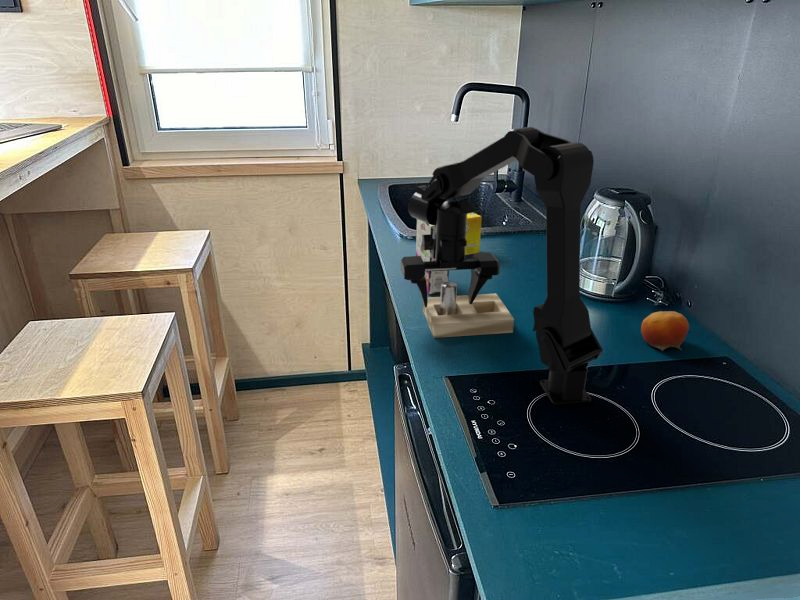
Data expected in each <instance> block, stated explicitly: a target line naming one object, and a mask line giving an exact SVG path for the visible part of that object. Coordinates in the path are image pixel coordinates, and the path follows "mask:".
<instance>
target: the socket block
mask: <svg viewBox="0 0 800 600" xmlns="http://www.w3.org/2000/svg"><path fill="white" fill-rule="evenodd" d="M427 299H428V303H427V307H425V306H424V303H423V302H422V312H423V314H424V316H425V319H426V323H427V325H428V327H429V329H430V331H431V335H432V337H433V339H436V338H437V339H438V338H450V337H452V338H453V337H454V338H455V337H463V336H465V337H468V336H479V335H480V336H481V335H497V334H509V333H510V334H511V333H514V324H515V319H514V317H513V315H512V314H511V313H510V311H509V310H508V308H507V307H506V305H505V304H504V302H503V301H502V300H501V298H500V297H499V295H498V294H497V293H484V294H483V293H482V294H480V293H478V294H477V296H476V298H475V300H474V301H473V303H472V304H469V294H466V295H463V294H462V295H456V313H455V315H440V296H432V297H431V296H430V297H429V296H427Z"/></svg>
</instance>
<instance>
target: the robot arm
mask: <svg viewBox="0 0 800 600" xmlns="http://www.w3.org/2000/svg"><path fill="white" fill-rule="evenodd" d="M516 161H517V162H518V164H519V167H521V169H523V170H525V171H526V172H528V173H529V174H531V175H532V176H533V177H534V178H533V179H534V185H535V190H536V193H537V194H538V195H539V197H540V199H541V201H542V202H543V205H544V206H545V220H546V221H545V225H546V226H545V227H546V229H545V231H546V234H545V235H546V238H545V239H546V244H545V245H546V298H545V300H544V303H542V304H540V305H536V306H534V307H533V311H532V313H533V314H532V315H533V327H532V331H533V332H535V338H536V340H537V343H538V350H539V357H540V361H541V364H543V365H545V366H546V367H547V370H548V371H549V373H548V379H541V380H540V381H539V385H540V386H541V387H542V389H543V391H544V393H546V396H547V397H548V399H549V400H550V402H551V403H552V404H553V405H555V406H558V405H568V404H569V405H570V404H582V403H591V402H592V397H591V395H589V393H588V392H587V390H586V389H585V386H586V381H587V374H588V367H589V363H591V362H592V361H594V360H597V359H599V358H600V356H601V354H603V351H604V349H603V348H602V345H601V344H600V343H599V340H598V338H597V336H596V335H595V333H594V331H593V329H592V327H591V326H592V325H591V320H590V319H591V318H590V313H589V309H588V307H587V305H586V304H585V302H584V301H583V299H582V298H581V294H580V292H581V291H580V290H581V289H580V288H581V287H580V285H581V280H580V279H581V278H580V277H581V276H580V273H581V270H580V269H581V266H580V265H581V259H580V258H581V206H582V202H583V200H584V199H585V196H586V194H587V192H588V190H589V188H590V186H591V182H592V174H593V170H594V164H595V163H594V155H593V152H592V150H589V148H588V147H587V145H585V144H583V143H582V142H577V141H574V142H572V141H569V140H568V139H566V138H562V137H559V136H555V135H552V134H549V133H545V132H544V131H542V130H539V129H538V128H535V127H533V126H526V127H520V128H519V127H518V128H517V127H516V128H513V129H510V130H509V131H507V133H506V134H505V135H503V136H502V137H500V138H498V139H497V140H495V141H493V142H492V143H490V144H488V145H487V146H486V147H484V148H482V149H480V150H479V151H477V152H475V153H474V154H472V155H471V156H469V157H467V158H466V159H464V160H460V161H458V162H457V161H456V162H453V163H450V164H449V163H447V164H445V165H441V166H439V167H436V168H435V169H434V170H433V172H432V177H431V179H430V181H429V182H428V183H427V185H418V186H416V189H415V190H416V191H415V192H414V194H412V196H411V197H410V199H409V202H408V203H407V211H408V214H409V215H410V216H411V217H412V218H413V219H416V220H417V219H418V220H421V221H423V222H426V223H428V224H430V225H436V235H435V239H433V236H432V234H429V235H422V249H423V250H431V254H432V257H433V258H435V261H428V262H423V260H422V258H421V256H416V255H413V256H403V257H402V258H401V260H400V271H401V274H402V276H403V279H404V280H407V281H410V284H413V285H414V284H416V285H417V287H418V290H419V292H420V296H421V299H422V304H423V303H424V306H425V307H427V303H428V299H427V298H428V292H427V282H426V279H425V277H424V276H425V272H427V271H446V270H449V271H462V270H470V272H471V273H470V276H471V278H470V284H469V291H468V295H469V304H472V303H473V301H474V300H475V298H476V296H477V295H479V294H480V293H479V292H480V290H481V289H482V288H483V287H484V285H485V284H486V283H487V281H488V280H492V279H493V276H498V275H500V267H501V266H500V262H499V261H498V259H497V258H496V257H495V256H494V254H493V253H492V252H479V253H474V255H473V256H472V258H470V259H469V258H468V259H466V258H465V246H467V240H466V227H467V214H469V213H476V207H475V206H474V205H473V204H472V203H471V201H470V200H469V199H468V198H465V199H456V197H461V196H466V195H471V193H473V192H474V191H475V190H476V189H478V188H479V186H480V185H481V183H482V181H483V180H484V179H486V177H488V176H490V175H492V174H493V173H495V172H498V171H499V170H500V169H503V168H505V167H506V166H508V165H510V164H511V163H514V162H516Z"/></svg>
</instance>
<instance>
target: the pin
mask: <svg viewBox="0 0 800 600" xmlns="http://www.w3.org/2000/svg"><path fill="white" fill-rule="evenodd" d="M457 290H458V285H457V283H455V282H453V281H448V282H443V283H441V293H440V294H439V295H440V296H439V297H440V315H455V313H456V296H458V295H457V293H458V291H457Z"/></svg>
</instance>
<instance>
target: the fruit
mask: <svg viewBox="0 0 800 600" xmlns="http://www.w3.org/2000/svg"><path fill="white" fill-rule="evenodd" d="M689 328H690V324H689V321H688V319H687V318H686V317H685V316H684V315H683V314H682V313H679V312H677V311H674V310H673V311H667V310H666V311H665V310H664V311H662V310H659V311H656V312H652V313H650V314H649V315H648V316H646V317H645V318H644V319H643V321H642V322H641V328H640V333H641V335H642V339H643V340H644V341H645V342H646V343H647V344H648V345H649V346H651V347H654V348H656V349H659V350H661V351H662V352H664V350H666V349H668V348H677V349H679V350H680V351H682V350H683V349H682V348H681V347H680V346H681V345H682V344H683V342H684V341H685V338H686V337H687V334H688V331H689ZM682 352H683V351H682Z"/></svg>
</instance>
